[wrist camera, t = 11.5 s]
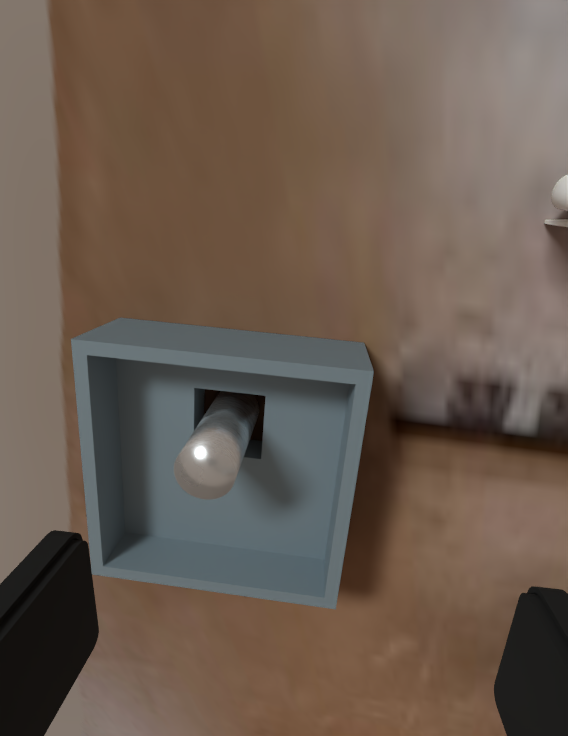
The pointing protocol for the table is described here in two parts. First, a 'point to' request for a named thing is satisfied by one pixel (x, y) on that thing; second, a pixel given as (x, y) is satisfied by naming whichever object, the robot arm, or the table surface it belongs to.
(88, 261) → the table surface
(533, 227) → the table surface
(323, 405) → the open box
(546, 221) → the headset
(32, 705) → the robot arm
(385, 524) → the table surface
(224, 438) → the peg
